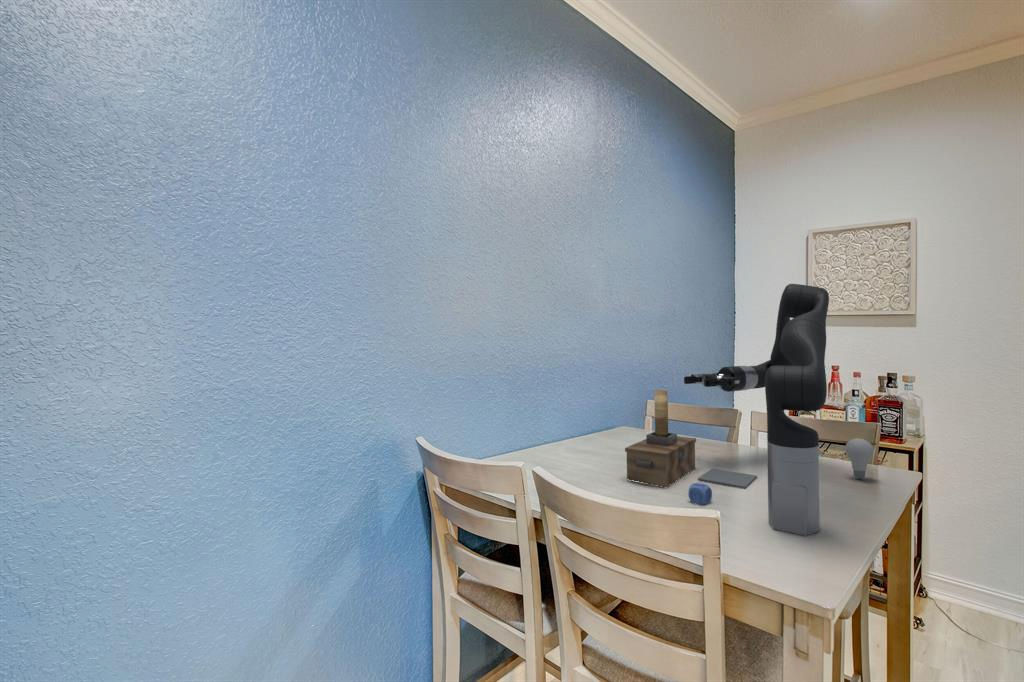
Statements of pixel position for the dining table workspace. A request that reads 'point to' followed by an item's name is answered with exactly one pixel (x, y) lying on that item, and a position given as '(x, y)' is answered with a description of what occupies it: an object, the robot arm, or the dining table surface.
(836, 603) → the dining table surface
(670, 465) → the toolbox
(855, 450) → the lightbulb
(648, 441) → the dark grey square tray
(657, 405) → the pin
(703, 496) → the decorative dice
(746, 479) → the mat
